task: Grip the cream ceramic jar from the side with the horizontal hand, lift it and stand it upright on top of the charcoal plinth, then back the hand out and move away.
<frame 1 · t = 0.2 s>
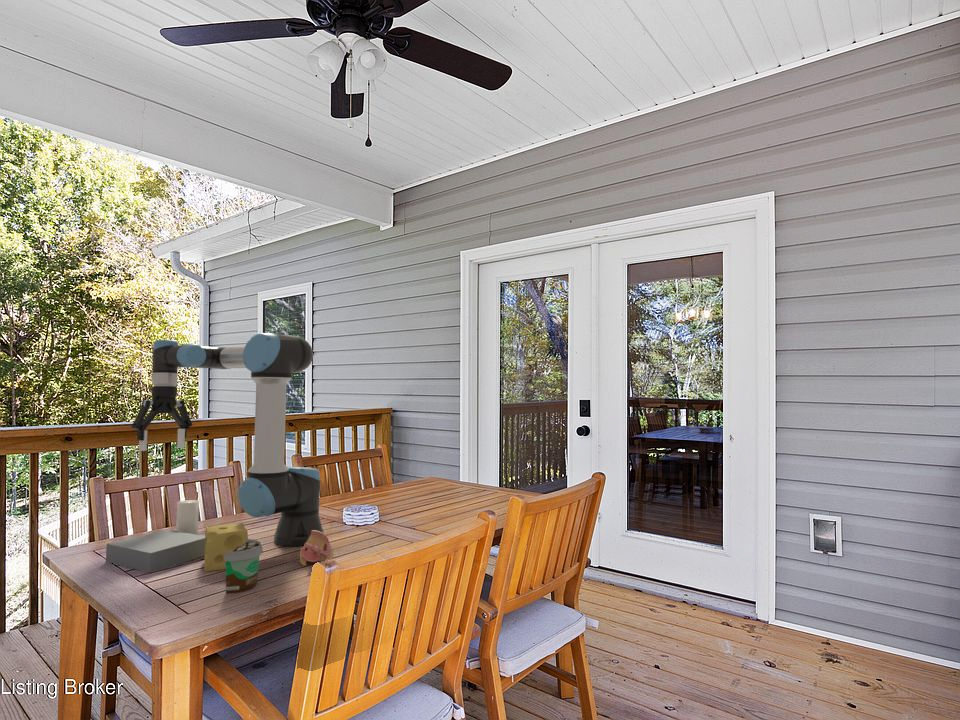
hand: (162, 449, 190), 27 cm above the table, tool pointing down, fingers open, 13 cm apart
plinth: (158, 558, 159), on the table
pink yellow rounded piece: (317, 563, 159), on the table
ceramic jar: (186, 540, 178), on the table
cheese: (224, 565, 156), on the table
food container: (247, 587, 139), on the table
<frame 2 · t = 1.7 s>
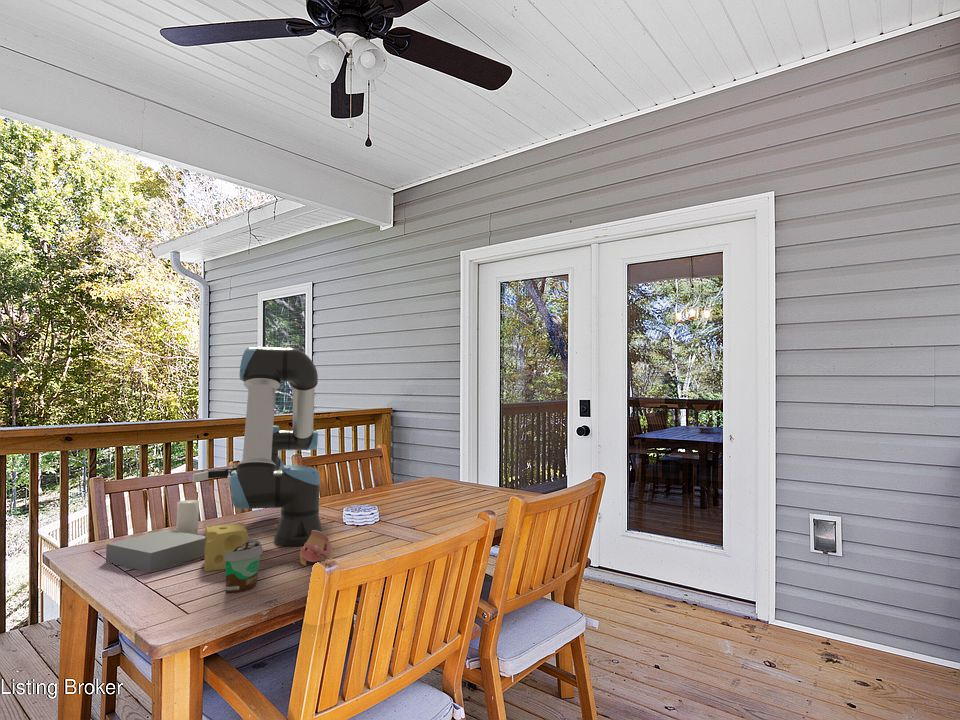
hand: (210, 479, 188), 17 cm above the table, tool horizontal, fingers open, 13 cm apart
nothing on the table moved.
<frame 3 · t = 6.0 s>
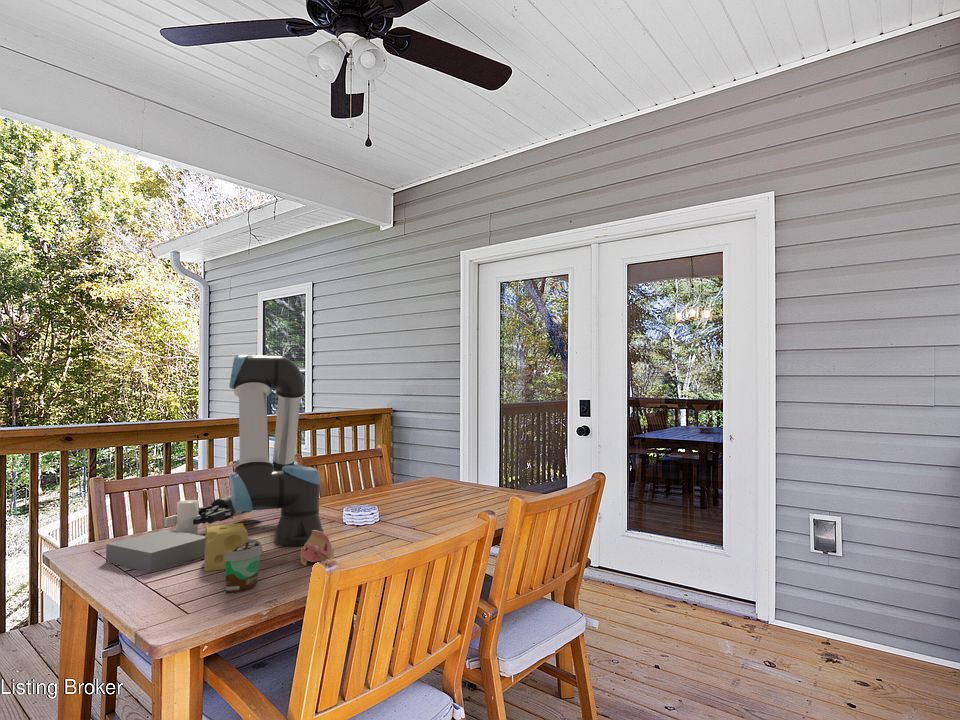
hand: (174, 523, 173), 7 cm above the table, tool horizontal, fingers closed on ceramic jar, 6 cm apart
ceramic jar: (186, 540, 178), on the table, touching gripper
everything else where it was.
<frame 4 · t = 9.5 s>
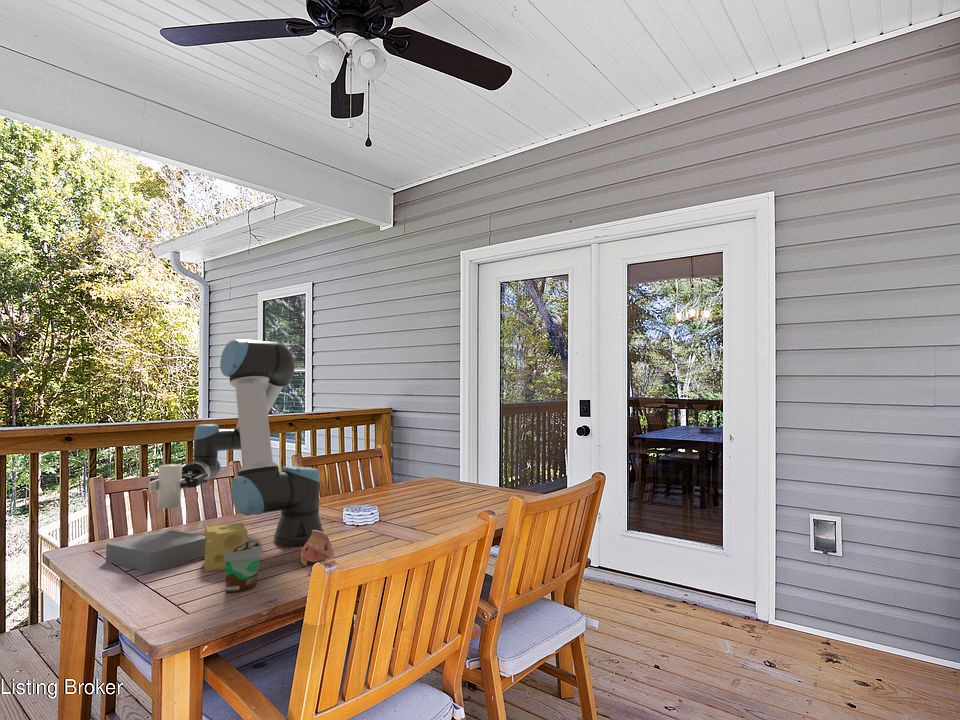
hand: (162, 487, 163), 19 cm above the table, tool horizontal, fingers closed on ceramic jar, 6 cm apart
ceramic jar: (168, 506, 168), point 13 cm above the table, touching gripper
everything else where it was.
when the fingers open (12 cm above the table, at t = 12.4 s): ceramic jar stays where it is, resting on plinth.
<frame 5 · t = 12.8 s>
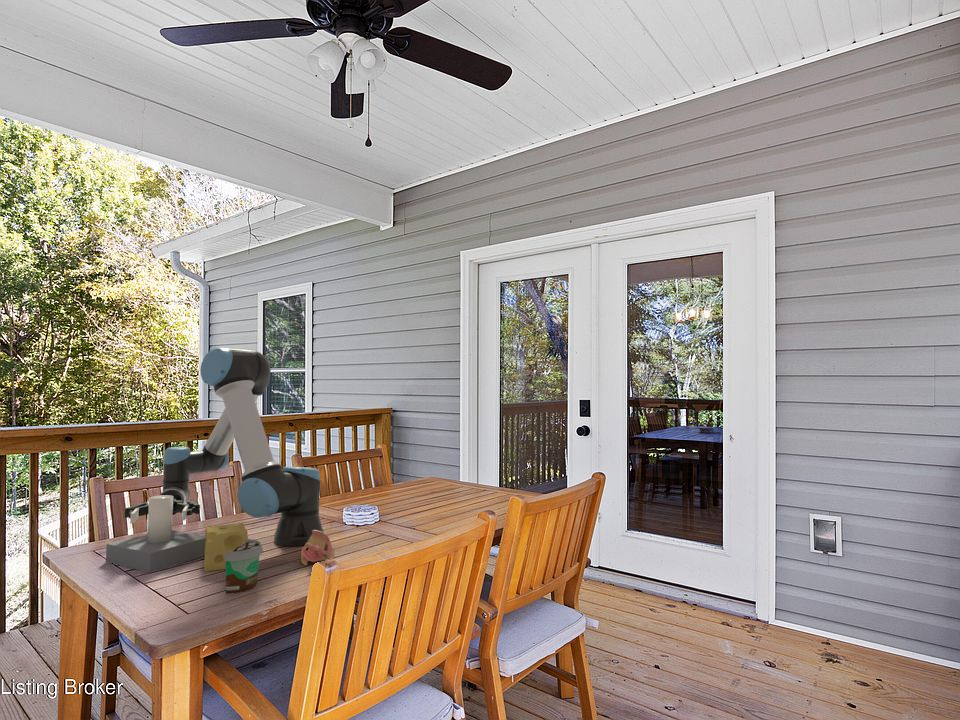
hand: (158, 517, 156), 12 cm above the table, tool horizontal, fingers open, 12 cm apart
ceramic jar: (159, 540, 160), point 5 cm above the table, touching plinth
everything else where it was.
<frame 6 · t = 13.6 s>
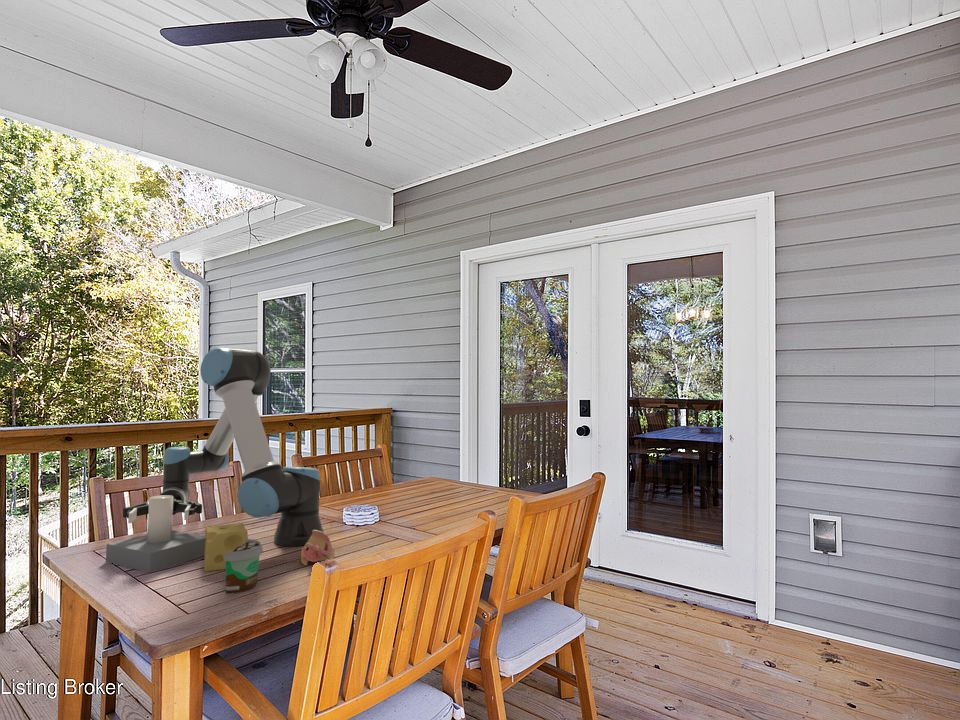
hand: (158, 516, 157), 12 cm above the table, tool horizontal, fingers open, 13 cm apart
nothing on the table moved.
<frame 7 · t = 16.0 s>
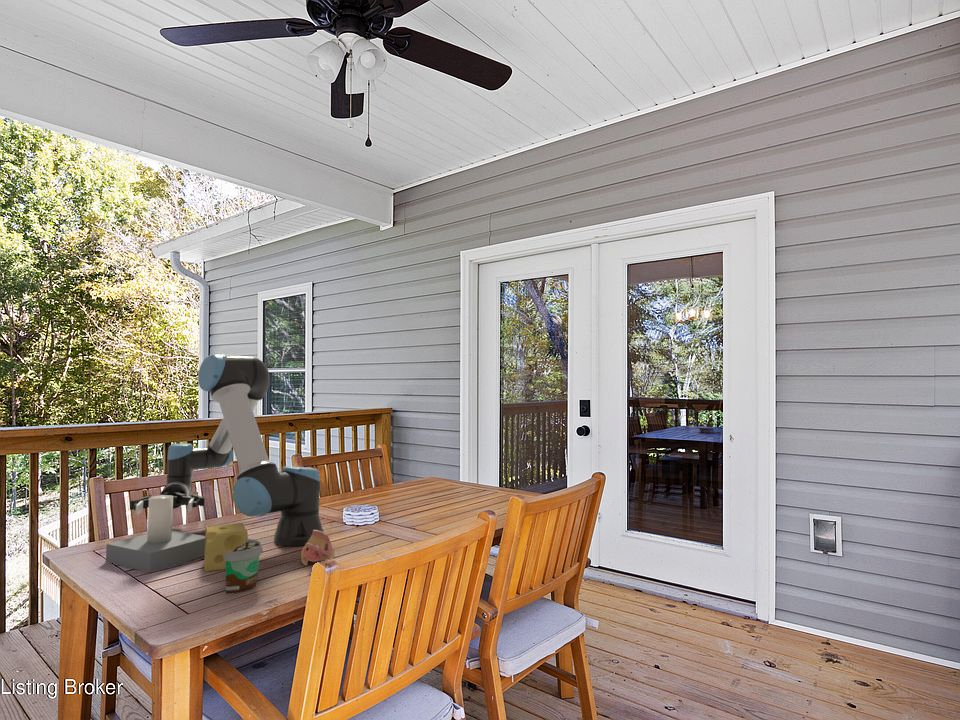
hand: (163, 508, 166), 12 cm above the table, tool horizontal, fingers open, 13 cm apart
nothing on the table moved.
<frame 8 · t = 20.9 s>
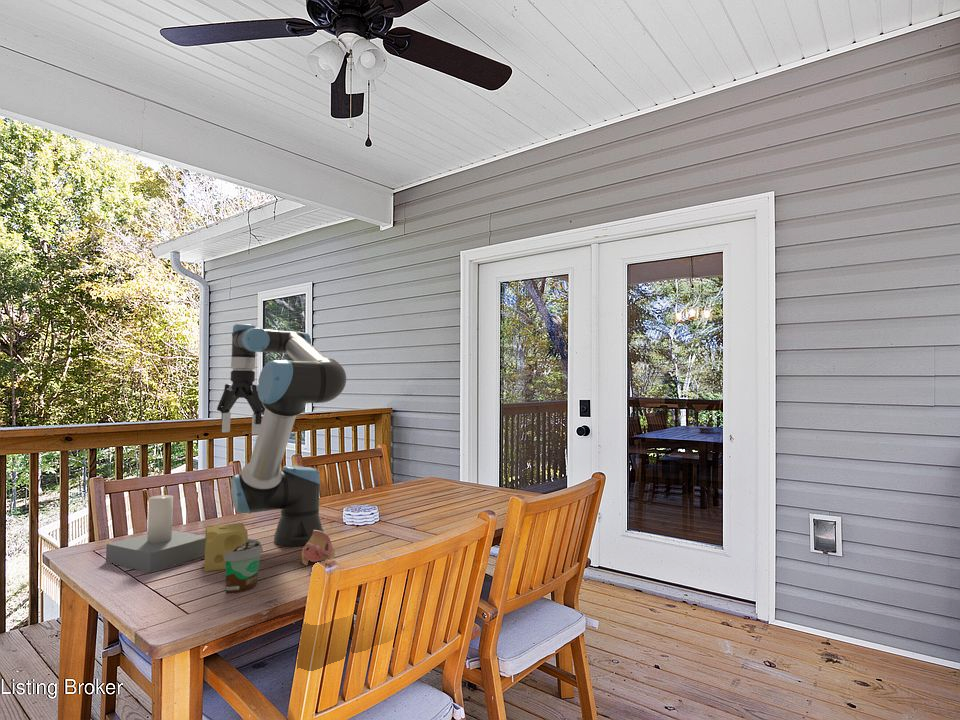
hand: (240, 433, 191), 33 cm above the table, tool pointing down, fingers open, 13 cm apart
nothing on the table moved.
at the end: ceramic jar inside the target area on the plinth (0.1 cm from its centre), point 5.0 cm above the plinth's base; ceramic jar tilted 0°; the gripper is holding nothing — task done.
